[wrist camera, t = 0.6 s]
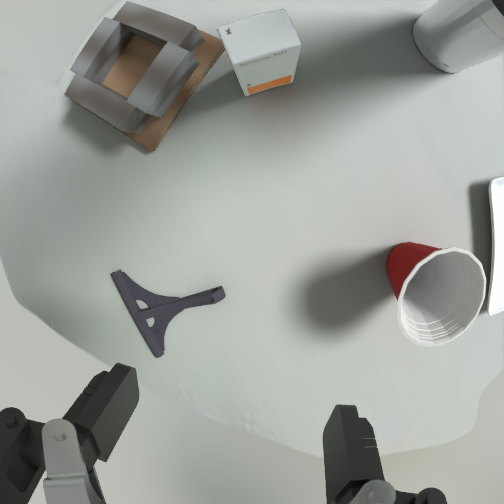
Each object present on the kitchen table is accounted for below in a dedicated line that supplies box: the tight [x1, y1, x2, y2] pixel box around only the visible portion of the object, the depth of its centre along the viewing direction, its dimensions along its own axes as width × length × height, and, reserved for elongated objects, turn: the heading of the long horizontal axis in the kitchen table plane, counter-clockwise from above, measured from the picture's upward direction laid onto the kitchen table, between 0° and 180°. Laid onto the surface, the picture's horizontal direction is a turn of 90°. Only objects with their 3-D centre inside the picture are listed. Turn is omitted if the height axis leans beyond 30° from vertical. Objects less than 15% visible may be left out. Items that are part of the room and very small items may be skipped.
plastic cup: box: [386, 242, 486, 347], centre depth 29 cm, size 11×11×12 cm
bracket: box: [111, 270, 226, 358], centre depth 38 cm, size 14×15×3 cm
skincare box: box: [217, 9, 302, 96], centre depth 24 cm, size 6×4×12 cm
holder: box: [64, 1, 225, 151], centre depth 28 cm, size 16×16×6 cm
